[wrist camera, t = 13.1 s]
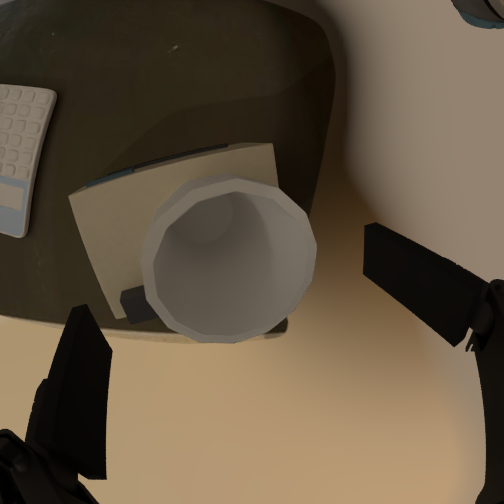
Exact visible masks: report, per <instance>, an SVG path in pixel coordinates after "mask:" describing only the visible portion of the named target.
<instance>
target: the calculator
mask: <svg viewBox="0 0 504 504" xmlns="http://www.w3.org/2000/svg"><path fill="white" fill-rule="evenodd" d="M56 99H57V94H56V92H55V91H53V90H50V89H44V88H37V87H28V86H18V85H5V84H0V233H3V234H7V235H10V236H13V237H17V238H22V237H24V236H25V235H26V233H27V231H28V226H29V218H30V209H31V202H32V195H33V189H34V183H35V177H36V172H37V167H38V163H39V158H40V154H41V150H42V146H43V142H44V139H45V135H46V131H47V128H48V125H49V121H50V118H51V115H52V112H53V109H54V106H55V103H56Z"/></svg>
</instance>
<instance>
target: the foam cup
mask: <svg viewBox="0 0 504 504" xmlns="http://www.w3.org/2000/svg"><path fill="white" fill-rule="evenodd" d="M316 252H317V244H316V242H315V239H314V235H313V232H312V229H311V226H310V223H309V220H308V217H307V214H306V213H305V212H304V211H303V210H302V209H301V208H300V207H299V206H298V205H297V204H296V203H295V202H293V201H292V200H291V199H290V198H289V197H288V196H287V195H286V194H285V193H284V192H282V191H281V190H280V189H279V188H278V187H275V186H273V185H271V184H268V183H266V182H264V181H260V180H256V179H252V178H248V177H243V176H239V175H235V174H230V173H222V174H218V175H214V176H210V177H200V178H196V179H193V180H189V181H185V182H184V183H183V184H182V185H181V186H180V187H178V188H177V189H176V190H175V191H174V192H173V193H172V194H171V196H170V197H169V199H168V200H167V201H165V202H164V203H163V204H162V205H161V206H160V207H159V208H158V209H157V210H156V213H155V215H154V218H153V220H152V223H151V225H150V228H149V230H148V233H147V235H146V238H145V241H144V243H143V249H142V255H141V269H142V276H143V282H144V289H145V295H146V300H147V301H148V303H149V304H150V305H151V307H152V308H153V309H154V310H155V312H156V313H157V314H158V316H159V317H160V318H161V319H162V321H163V322H164V323H165V324H166V326H167V327H168V328H170V329H172V330H174V331H176V332H178V333H180V334H182V335H184V336H187V337H189V338H191V339H193V340H195V341H198V342H202V343H237V342H240V341H243V340H246V339H249V338H252V337H255V336H258V335H261V334H263V333H266V332H268V331H269V330H271V329H272V328H273V327H274V326H276V325H277V324H278V323H279V322H281V321H282V320H283V319H284V318H286V317H287V316H288V315H289V314H291V312H293V311H294V310H295V309H296V307H297V305H298V304H299V302H300V300H301V299H302V297H303V296H304V294H305V292H306V291H307V289H308V287H309V285H310V284H311V282H312V280H313V273H314V266H315V259H316Z"/></svg>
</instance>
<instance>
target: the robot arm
mask: <svg viewBox="0 0 504 504" xmlns="http://www.w3.org/2000/svg"><path fill="white" fill-rule="evenodd" d="M451 1H452V2H453V5H454V7H455V8H456V9H457V10H458V12H459V13H460V15H461V16H462V18H463V19H464V20H465V21H466V22H467V23H469V24H470V25H473V26H476V27H480V28H486V29H492V28H496V29H502V28H504V0H451ZM364 227H365V229H364V230H365V231H364V265H363V274H364V275H365V276H366V277H367V278H369V279H370V280H371V281H373V282H374V283H375V284H377V285H378V286H379V287H381V288H382V289H383V290H384V291H386V292H387V293H388V294H390V295H391V296H392V297H393V298H395V299H396V300H397V301H398V302H400V303H401V304H402V305H404V306H405V307H406V308H407V309H409V310H410V311H411V312H412V313H413V314H415V315H416V316H417V317H418V318H420V319H421V320H422V321H423V322H425V323H426V324H427V325H428V326H429V327H431V328H432V329H433V330H434V331H435V332H437V333H438V334H439V335H440V336H441V337H443V338H444V339H445V340H446V341H447V342H449V343H450V344H451V345H452V346H453V347H455V346H456V345H458V344H459V343H460V342H461V341H462V340H463V339H464V338H465V336H466V334H467V331H468V329H469V327H470V328H471V329H472V330H473V332H472V334H471V337H470V339H469V341H468V343H467V346H466V352H467V351H468V349H469V347H470V345H471V344H473V346H472V348H471V351H474V352H475V356H476V361H477V366H478V371H479V377H480V384H481V390H482V398H483V406H484V417H485V433H486V474H485V484H484V487H483V489H482V491H481V492H480V494H479V495H478V497H477V500H476V502H475V504H504V280H500V279H494V280H492V281H491V282H490V283H488V282H486V281H484V280H483V279H481V278H480V277H478V276H476V275H475V274H473V273H471V272H470V271H468V270H466V269H463V267H461V266H460V265H456V263H454V262H453V261H451V260H449V259H447V258H444V257H442V256H440V255H438V254H436V253H435V252H433V251H431V250H429V249H427V248H425V247H424V246H422V245H420V244H418V243H416V242H414V241H412V240H410V239H408V238H406V237H404V236H402V235H400V234H399V233H396V232H395V231H393V230H390V229H389V228H386V227H385V226H382V225H380V224H378V223H376V222H375V223H372V224H368V225H365V226H364ZM112 352H113V351H112V349H111V347H110V346H109V344H108V342H107V341H106V339H105V337H104V335H103V334H102V332H101V330H100V328H99V326H98V325H97V323H96V321H95V319H94V317H93V315H92V313H91V312H90V310H89V308H88V306H87V304H84V305H80V306H77V307H73V308H72V310H71V312H70V315H69V317H68V320H67V322H66V325H65V328H64V330H63V333H62V336H61V338H60V341H59V344H58V347H57V350H56V353H55V355H54V358H53V362H52V365H51V368H50V371H49V374H48V378H47V379H43V381H42V382H41V384H40V386H39V387H38V388H37V391H36V395H35V398H34V403H33V406H32V412H31V414H30V418H29V423H28V427H27V432H26V437H25V442H24V441H23V440H21V439H20V438H19V437H18V436H17V435H15V434H14V433H13V432H12V431H11V430H8V429H2V430H0V504H99V503H98V502H97V501H96V499H95V498H94V497H93V496H92V495H91V493H90V492H89V491H88V490H87V489H86V487H85V486H84V485H83V484H82V483H81V482H80V481H78V473H79V474H80V475H82V476H84V477H85V478H87V479H91V480H96V479H97V480H106V479H107V476H106V419H107V400H108V388H109V377H110V368H111V359H112Z"/></svg>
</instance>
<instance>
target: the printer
mask: <svg viewBox="0 0 504 504" xmlns="http://www.w3.org/2000/svg"><path fill="white" fill-rule="evenodd" d="M222 173H230V174H235V175H239V176H243V177H248V178H252V179H256V180H260V181H264V182H266V183H268V184H271V185H273V186H275V187H278V188H279V186H278V178H277V171H276V163H275V156H274V149H273V144H272V143H239V144H233V145H228V144H221V145H216V146H211V147H206V148H201V149H197V150H192V151H188V152H184V153H179V154H175V155H171V156H167V157H163V158H159V159H156V160H152V161H148V162H145V163H141V164H138V165H134V166H131V167H128V168H124V169H121V170H118V171H115V172H112V173H109V174H108V176H105V177H102V178H99V179H96V180H93V181H91V182H89V183H87V184H86V186H84V187H82V188H81V189H79V190H77V191H76V192H74V193H72V194H71V195H69V200H70V203H71V206H72V210H73V213H74V216H75V219H76V222H77V225H78V228H79V231H80V234H81V237H82V240H83V243H84V246H85V248H86V251H87V254H88V256H89V259H90V261H91V264H92V266H93V269H94V271H95V274H96V276H97V279H98V281H99V283H100V285H101V288H102V290H103V292H104V294H105V297H106V299H107V301H108V303H109V305H110V307H111V309H112V312H113V314H114V316H115V318H116V319H119V318H123V317H127V318H128V320H129V322H130V324H135V323H139V322H143V321H146V320H150V319H154V318H158V317H159V316H158V314H157V313H156V312H155V310H154V309H153V308H152V307H151V305H150V304H149V303H148V301H147V300H146V295H145V289H144V282H143V276H142V269H141V255H142V249H143V243H144V241H145V238H146V235H147V233H148V230H149V228H150V225H151V223H152V220H153V218H154V215H155V213H156V210H157V209H158V208H159V207H160V206H161V205H162V204H163V203H164V202H165V201H167V200H168V199H169V197H170V196H171V194H172V193H173V192H174V191H175V190H176V189H177V188H178V187H180V186H181V185H182V184H183V183H184V182H185V181H189V180H193V179H196V178H200V177H210V176H214V175H218V174H222Z"/></svg>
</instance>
